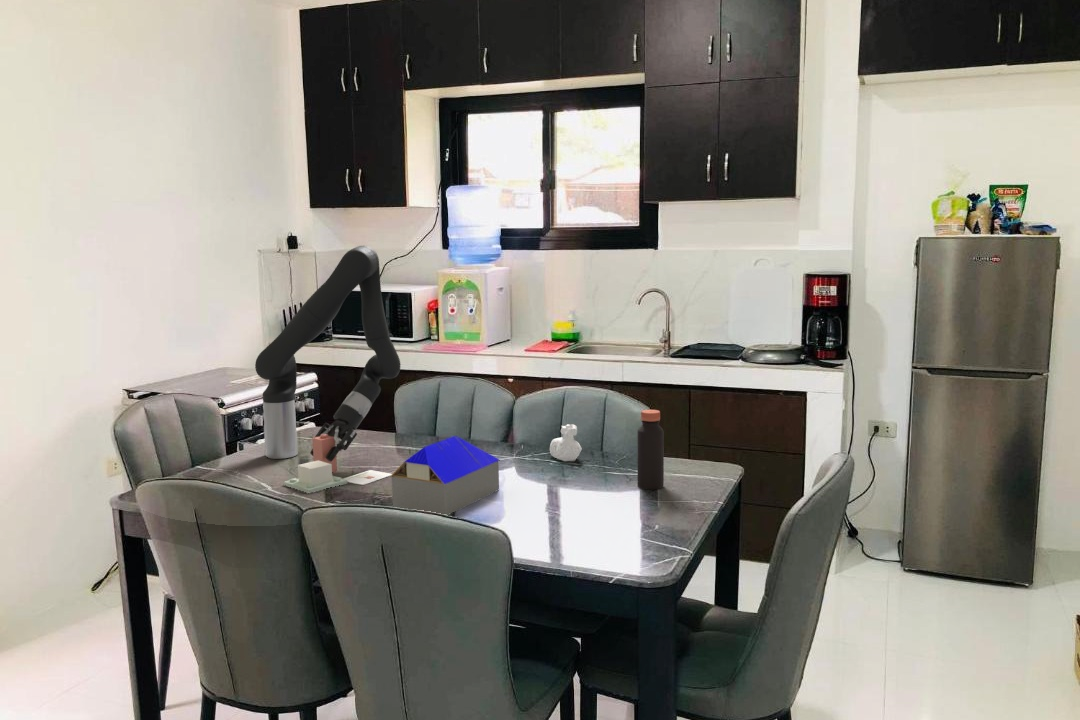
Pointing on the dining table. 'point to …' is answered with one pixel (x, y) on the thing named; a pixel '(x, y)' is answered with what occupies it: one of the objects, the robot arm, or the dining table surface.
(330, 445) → the tall brick
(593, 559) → the dining table surface
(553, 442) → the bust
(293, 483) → the tower base
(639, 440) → the bottle
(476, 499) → the house
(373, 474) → the page
